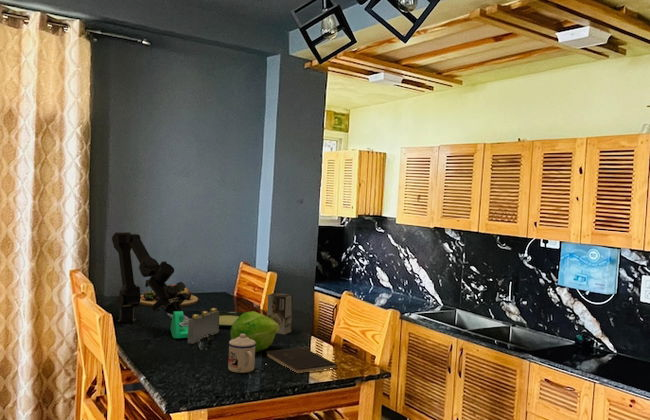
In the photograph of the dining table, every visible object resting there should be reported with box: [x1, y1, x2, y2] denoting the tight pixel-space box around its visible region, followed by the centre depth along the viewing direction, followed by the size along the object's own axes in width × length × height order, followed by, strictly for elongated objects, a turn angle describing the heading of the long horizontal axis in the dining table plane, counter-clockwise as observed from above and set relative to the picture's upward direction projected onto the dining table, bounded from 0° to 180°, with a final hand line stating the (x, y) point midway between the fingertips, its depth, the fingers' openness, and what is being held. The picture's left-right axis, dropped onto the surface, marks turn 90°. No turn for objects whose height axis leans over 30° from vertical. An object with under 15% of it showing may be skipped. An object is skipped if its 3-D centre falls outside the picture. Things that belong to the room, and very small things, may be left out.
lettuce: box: [229, 310, 280, 353], centre depth 207 cm, size 15×20×14 cm
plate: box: [199, 310, 245, 328], centre depth 250 cm, size 28×28×2 cm
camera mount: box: [169, 310, 188, 339], centre depth 221 cm, size 12×8×10 cm, turn 26°
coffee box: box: [266, 292, 294, 335], centre depth 237 cm, size 9×6×16 cm
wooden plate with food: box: [139, 283, 199, 309], centre depth 289 cm, size 32×32×8 cm
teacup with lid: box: [227, 334, 256, 374], centre depth 182 cm, size 12×9×12 cm
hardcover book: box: [265, 346, 338, 374], centre depth 195 cm, size 16×23×2 cm
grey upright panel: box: [187, 307, 221, 344], centre depth 221 cm, size 20×2×10 cm, turn 162°
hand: (182, 318), depth 224 cm, fingers closed
